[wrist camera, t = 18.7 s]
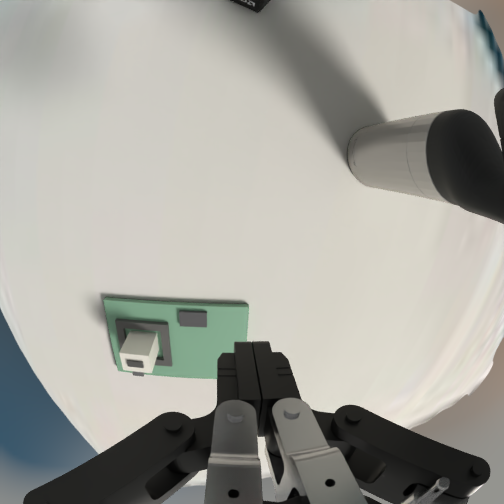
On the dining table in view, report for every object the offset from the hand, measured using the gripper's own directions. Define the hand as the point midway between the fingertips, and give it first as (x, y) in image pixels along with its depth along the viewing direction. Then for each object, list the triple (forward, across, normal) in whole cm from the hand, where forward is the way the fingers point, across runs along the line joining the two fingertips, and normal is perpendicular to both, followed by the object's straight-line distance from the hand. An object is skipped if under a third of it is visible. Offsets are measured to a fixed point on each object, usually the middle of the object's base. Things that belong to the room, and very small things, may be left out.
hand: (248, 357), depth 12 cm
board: (+27, +8, +18) cm, 33 cm away
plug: (+26, +13, +18) cm, 34 cm away
